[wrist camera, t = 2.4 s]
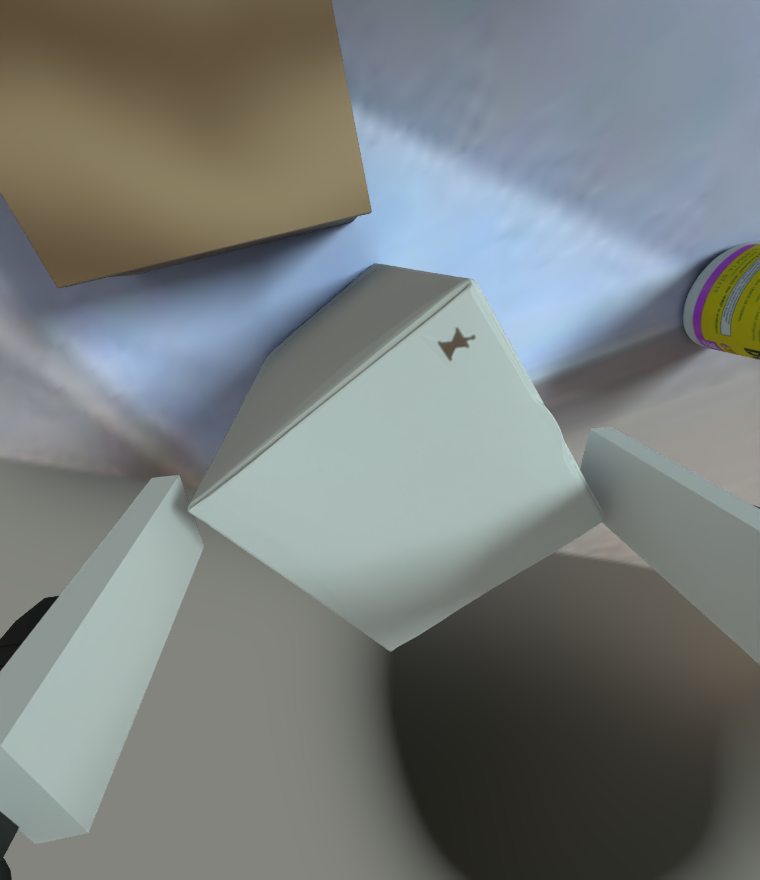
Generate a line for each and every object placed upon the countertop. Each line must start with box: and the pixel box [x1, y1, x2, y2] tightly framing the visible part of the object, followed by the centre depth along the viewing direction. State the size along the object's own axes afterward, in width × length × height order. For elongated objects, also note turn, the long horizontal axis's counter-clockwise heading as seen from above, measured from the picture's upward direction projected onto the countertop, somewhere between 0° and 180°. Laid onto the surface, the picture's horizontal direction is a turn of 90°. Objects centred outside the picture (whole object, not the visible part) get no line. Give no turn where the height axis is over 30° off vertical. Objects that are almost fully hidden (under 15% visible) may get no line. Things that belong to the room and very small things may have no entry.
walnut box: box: [0, 0, 372, 288], centre depth 14 cm, size 12×12×6 cm
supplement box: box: [188, 263, 604, 651], centre depth 16 cm, size 9×9×15 cm
